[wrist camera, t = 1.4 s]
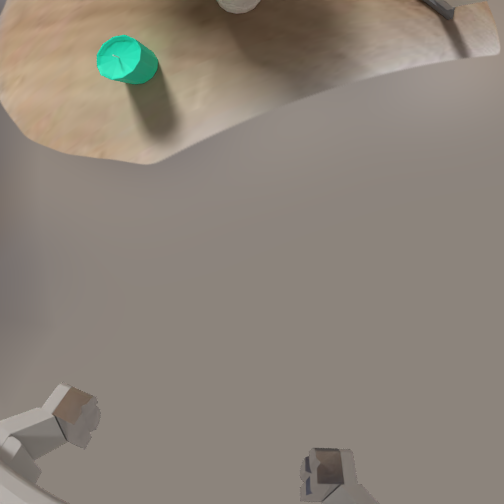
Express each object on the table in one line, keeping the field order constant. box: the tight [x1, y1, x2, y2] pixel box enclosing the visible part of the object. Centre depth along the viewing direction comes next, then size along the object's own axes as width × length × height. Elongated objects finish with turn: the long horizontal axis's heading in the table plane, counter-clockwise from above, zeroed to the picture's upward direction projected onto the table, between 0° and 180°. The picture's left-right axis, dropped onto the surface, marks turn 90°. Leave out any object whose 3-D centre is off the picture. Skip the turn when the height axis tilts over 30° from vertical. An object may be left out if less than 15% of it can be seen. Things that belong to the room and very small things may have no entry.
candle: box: [97, 35, 158, 84], centre depth 31 cm, size 6×6×12 cm
